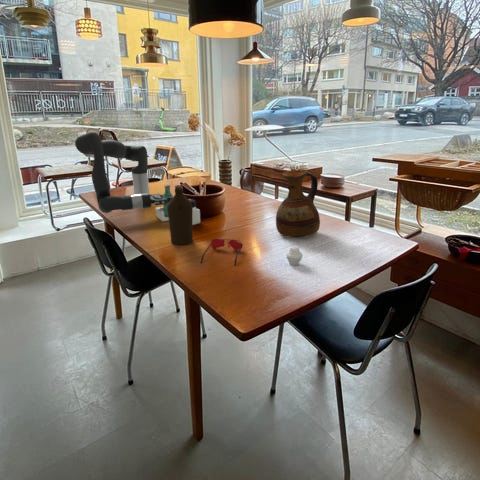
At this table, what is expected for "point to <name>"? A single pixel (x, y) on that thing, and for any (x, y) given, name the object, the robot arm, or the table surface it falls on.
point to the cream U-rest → (161, 214)
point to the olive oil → (180, 218)
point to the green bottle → (166, 195)
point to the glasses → (220, 242)
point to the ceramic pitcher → (298, 207)
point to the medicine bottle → (195, 213)
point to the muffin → (294, 256)
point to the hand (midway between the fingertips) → (171, 197)
